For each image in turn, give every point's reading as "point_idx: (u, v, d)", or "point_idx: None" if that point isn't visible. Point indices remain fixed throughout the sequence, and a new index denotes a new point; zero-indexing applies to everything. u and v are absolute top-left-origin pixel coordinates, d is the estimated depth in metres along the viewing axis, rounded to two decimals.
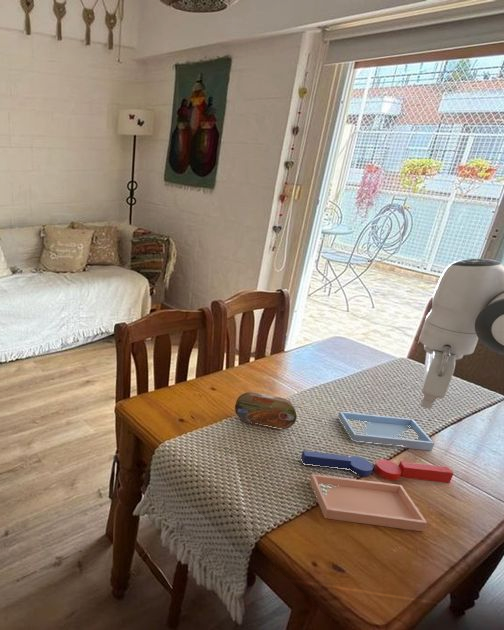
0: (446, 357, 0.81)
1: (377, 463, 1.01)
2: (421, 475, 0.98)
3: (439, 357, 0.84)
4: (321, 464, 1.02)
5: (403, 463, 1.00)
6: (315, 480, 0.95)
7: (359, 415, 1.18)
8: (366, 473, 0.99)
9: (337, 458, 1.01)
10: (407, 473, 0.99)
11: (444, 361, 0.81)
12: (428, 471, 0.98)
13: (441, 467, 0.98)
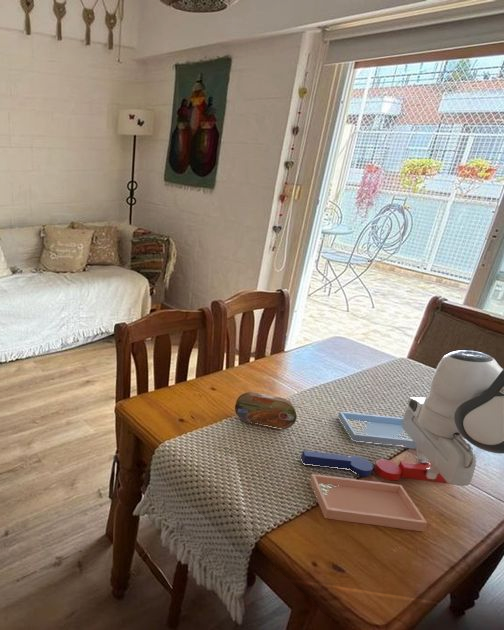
0: (472, 451, 0.85)
1: (377, 463, 1.01)
2: (421, 475, 0.98)
3: (458, 448, 0.88)
4: (321, 464, 1.02)
5: (403, 463, 1.00)
6: (315, 480, 0.95)
7: (359, 415, 1.18)
8: (366, 473, 0.99)
9: (337, 458, 1.01)
10: (407, 473, 0.99)
11: (472, 456, 0.85)
12: None
13: None
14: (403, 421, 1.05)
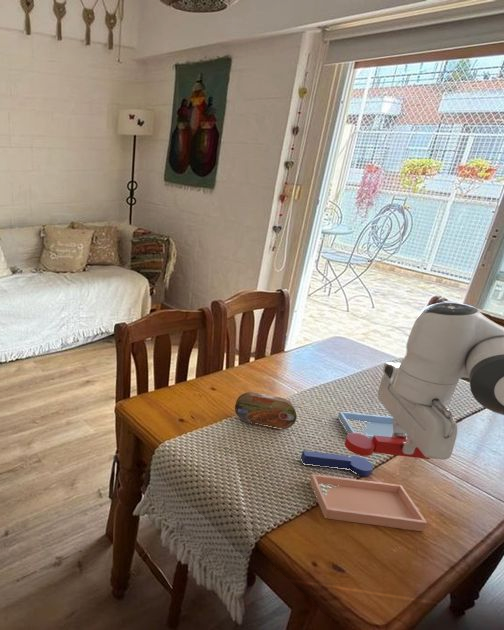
0: (452, 418, 0.73)
1: (348, 437, 0.89)
2: (397, 450, 0.86)
3: (437, 416, 0.76)
4: (321, 464, 1.02)
5: (377, 437, 0.87)
6: (315, 480, 0.95)
7: (359, 415, 1.18)
8: (366, 473, 0.99)
9: (337, 458, 1.01)
10: (381, 447, 0.87)
11: (452, 423, 0.73)
12: None
13: None
14: (379, 391, 0.93)
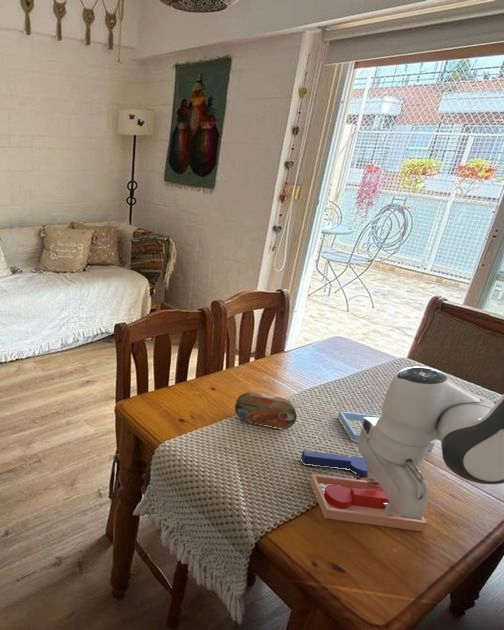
0: (423, 481, 0.77)
1: (327, 489, 0.92)
2: (374, 503, 0.90)
3: (410, 477, 0.79)
4: (321, 464, 1.02)
5: (354, 490, 0.91)
6: (315, 480, 0.95)
7: (359, 415, 1.18)
8: (366, 473, 0.99)
9: (337, 458, 1.01)
10: (358, 500, 0.90)
11: (423, 487, 0.76)
12: (380, 499, 0.89)
13: None
14: (359, 443, 0.97)
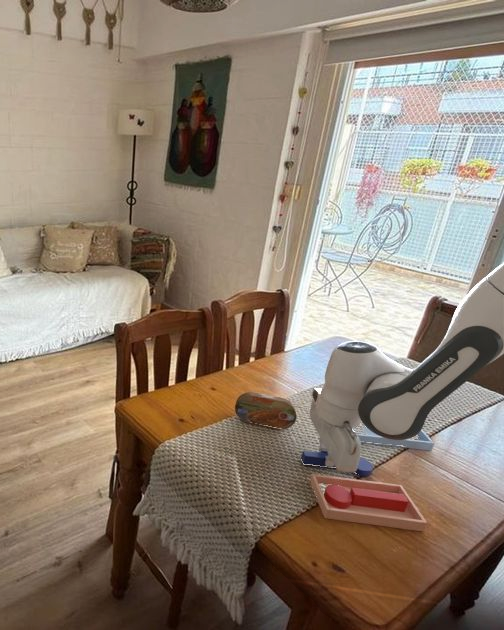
0: (355, 438, 0.89)
1: (327, 489, 0.92)
2: (374, 503, 0.90)
3: (346, 436, 0.91)
4: (321, 464, 1.02)
5: (354, 490, 0.91)
6: (315, 480, 0.95)
7: None
8: (366, 473, 0.99)
9: None
10: (358, 500, 0.90)
11: (355, 443, 0.88)
12: (380, 499, 0.89)
13: (395, 494, 0.90)
14: (310, 412, 1.08)
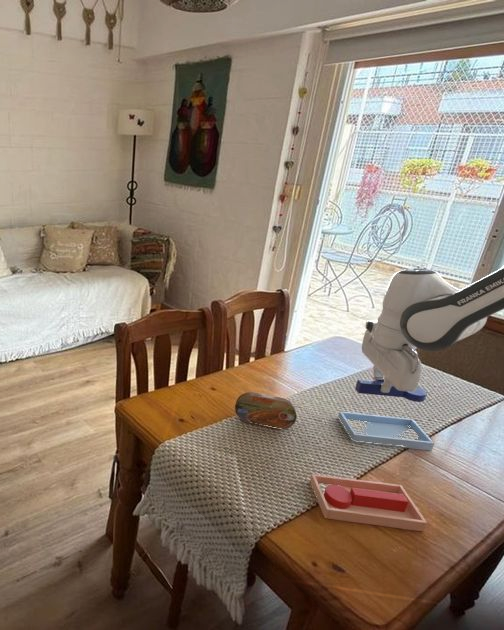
0: (417, 357, 0.93)
1: (327, 489, 0.92)
2: (374, 503, 0.90)
3: (406, 356, 0.96)
4: (376, 391, 1.06)
5: (354, 490, 0.91)
6: (315, 480, 0.95)
7: (359, 415, 1.18)
8: (421, 398, 1.04)
9: None
10: (358, 500, 0.90)
11: (417, 360, 0.93)
12: (380, 499, 0.89)
13: (395, 494, 0.90)
14: (362, 345, 1.13)
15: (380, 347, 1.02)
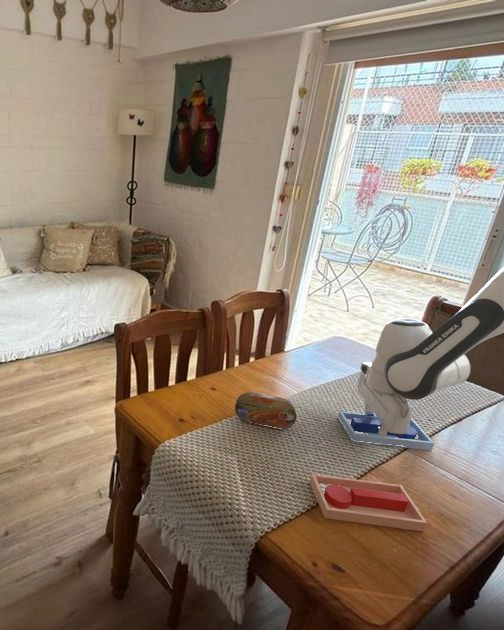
0: (407, 403, 1.00)
1: (327, 489, 0.92)
2: (374, 503, 0.90)
3: (397, 401, 1.03)
4: (369, 430, 1.13)
5: (354, 490, 0.91)
6: (315, 480, 0.95)
7: (359, 415, 1.18)
8: (411, 437, 1.10)
9: None
10: (358, 500, 0.90)
11: (407, 407, 1.00)
12: (380, 499, 0.89)
13: (395, 494, 0.90)
14: (358, 385, 1.20)
15: (374, 390, 1.09)
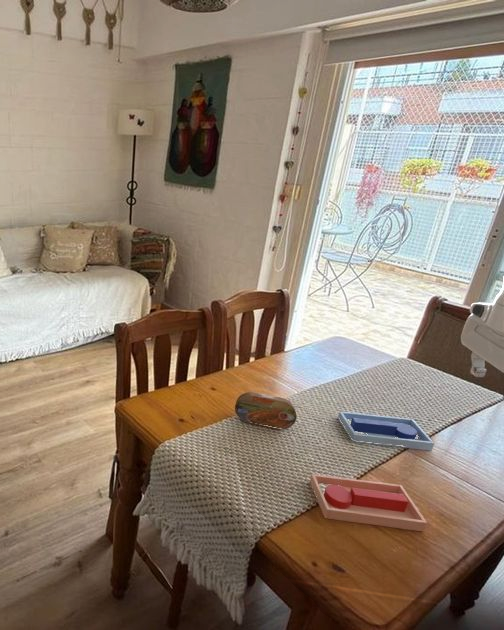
0: None
1: (327, 489, 0.92)
2: (374, 503, 0.90)
3: None
4: (369, 430, 1.13)
5: (354, 490, 0.91)
6: (315, 480, 0.95)
7: (359, 415, 1.18)
8: (411, 437, 1.10)
9: (384, 424, 1.12)
10: (358, 500, 0.90)
11: None
12: (380, 499, 0.89)
13: (395, 494, 0.90)
14: (463, 335, 0.90)
15: (499, 336, 0.80)
